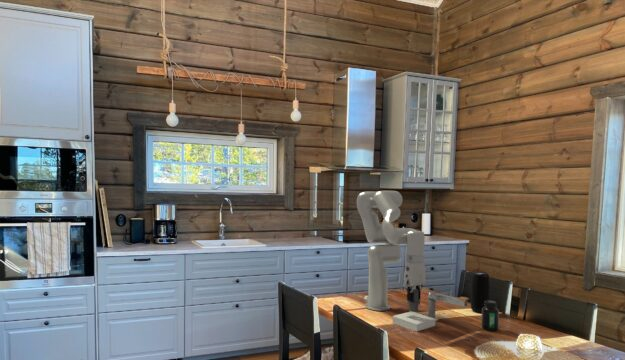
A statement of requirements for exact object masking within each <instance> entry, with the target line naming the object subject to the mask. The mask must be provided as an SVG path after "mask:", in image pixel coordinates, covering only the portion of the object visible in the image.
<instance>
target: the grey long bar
mask: <svg viewBox="0 0 625 360" xmlns="http://www.w3.org/2000/svg"><path fill="white" fill-rule="evenodd" d="M427 294H428V296H427V298H428V300H429V299H434V300H436V301H439V302H443V303H447V304H452V305H456V306H460V307H467V306H468V301H469V300H470V297H467V296H459V297H457V296H456V297H455V296H452V295H447V294H442V293H439V292H435V291H428V292H427Z"/></svg>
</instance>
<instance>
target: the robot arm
mask: <svg viewBox="0 0 625 360" xmlns="http://www.w3.org/2000/svg"><path fill="white" fill-rule="evenodd" d="M402 204H403V196H402V194H401V193H400V192H399V191H396V190H379V191H370V190H369V191H362V192H360V193H359V194H358V195H357V198H356V208H357V212H358V214H359V216H360V218H361V221H362V225H363V230H364V234H365V238H366V240H367V243H370V244H373V245H371V246H370V247H369V248H368V249H367V253H366V256H367V261H368V263H367V264H368V293H367V294H368V295H367V294H366V295H365V296H364V297H363V300H364V301H366V302H365V303H364V307H365V308H366V309H368V310H371V311H378V312H380V311H381V312H384V311H389V310H390V309H391V305H390V304H388V284H389V283H388V282H389V281H388V277H389V276H388V275H389V272H388V270H387V268H386V266H385V265H386V264H396V263H399V262H400V260H401V258H402V251H401V247H400V246H402V245H403V246H404V245H405V246H406V257H405V259H406V261H405V264H404V265H405V266H404V272H403V273H404V274H403V284H402V286H403V288H404V289H405V290H406V301H407V300H408V301H411V302H413V301H414V293H413V289H418V290H419V296H418V300H419V301H421V293H422V288H423V286H424V285H425V284H426V282H427V279H426V278H427V274H426V269H427V268H426V263H425V237H426V236H425V232H424V231H422V230H418V229H415V228H412V227H400V228H399V227H396V228H395V227H394V225H393V224H392V223H393V222H394V221H396V220H398V219H399V218H400V216H401V209H400V207H401V206H402ZM372 208H373V209H374V208H378V210H379V212H380V214H381V215H382V217H383V220H382V223H380V220H379V216H378V215H377V213H376V212H375V211H374V210H373V209H372Z"/></svg>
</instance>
